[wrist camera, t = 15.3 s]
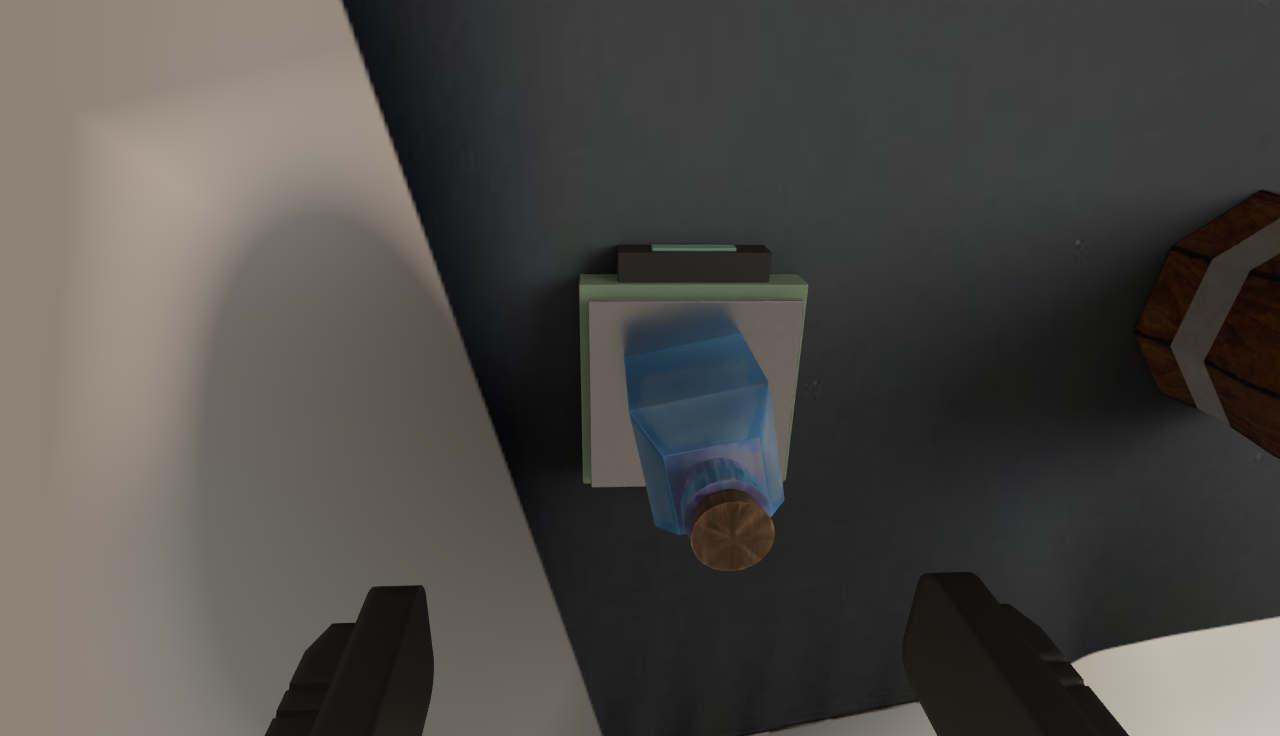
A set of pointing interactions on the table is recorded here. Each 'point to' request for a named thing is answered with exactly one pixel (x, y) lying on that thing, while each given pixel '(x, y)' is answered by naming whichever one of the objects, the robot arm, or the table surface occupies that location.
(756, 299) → the pan
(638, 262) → the scale
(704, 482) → the perfume bottle
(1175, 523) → the table surface
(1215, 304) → the mug
